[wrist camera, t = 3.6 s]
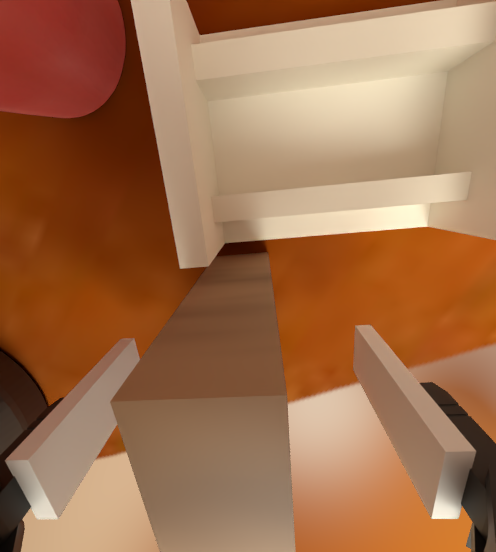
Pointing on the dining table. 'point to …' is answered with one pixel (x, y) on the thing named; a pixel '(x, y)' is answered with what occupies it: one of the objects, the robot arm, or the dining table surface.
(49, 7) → the flower pot
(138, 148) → the dining table surface
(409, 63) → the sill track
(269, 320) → the walnut panel
